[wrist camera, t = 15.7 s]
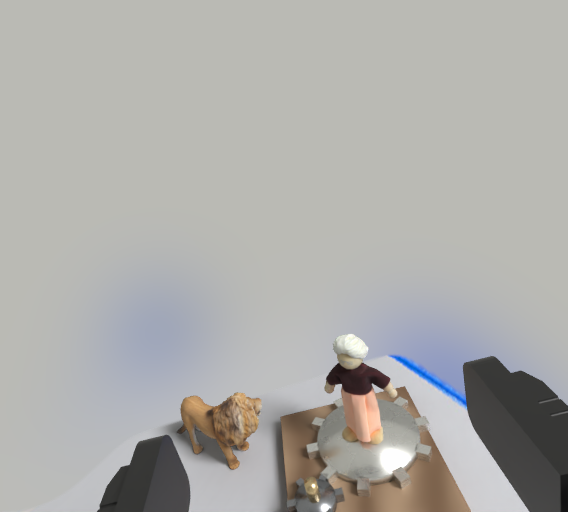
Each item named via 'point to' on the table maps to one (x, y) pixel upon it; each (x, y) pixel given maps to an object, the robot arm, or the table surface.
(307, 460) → the gear board
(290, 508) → the gear
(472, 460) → the table surface
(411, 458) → the gear
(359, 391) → the grandmother figurine
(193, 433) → the lion figurine
